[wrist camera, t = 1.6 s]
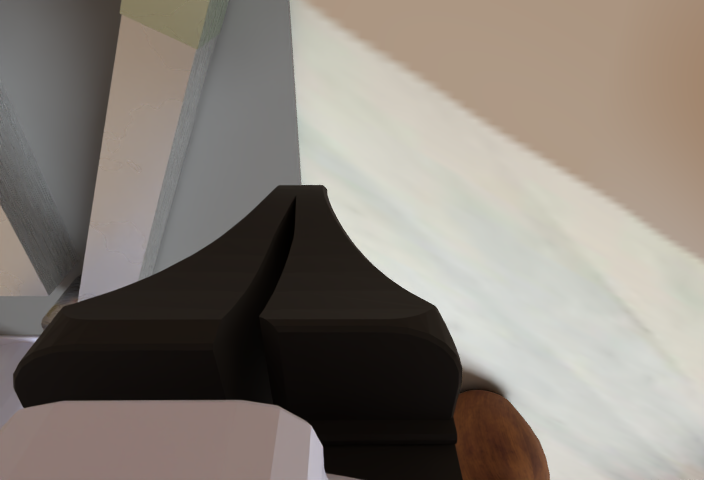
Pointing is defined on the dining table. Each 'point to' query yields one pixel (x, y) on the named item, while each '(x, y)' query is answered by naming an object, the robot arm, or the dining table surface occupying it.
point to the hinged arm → (144, 138)
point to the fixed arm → (28, 218)
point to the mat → (206, 136)
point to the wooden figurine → (496, 440)
